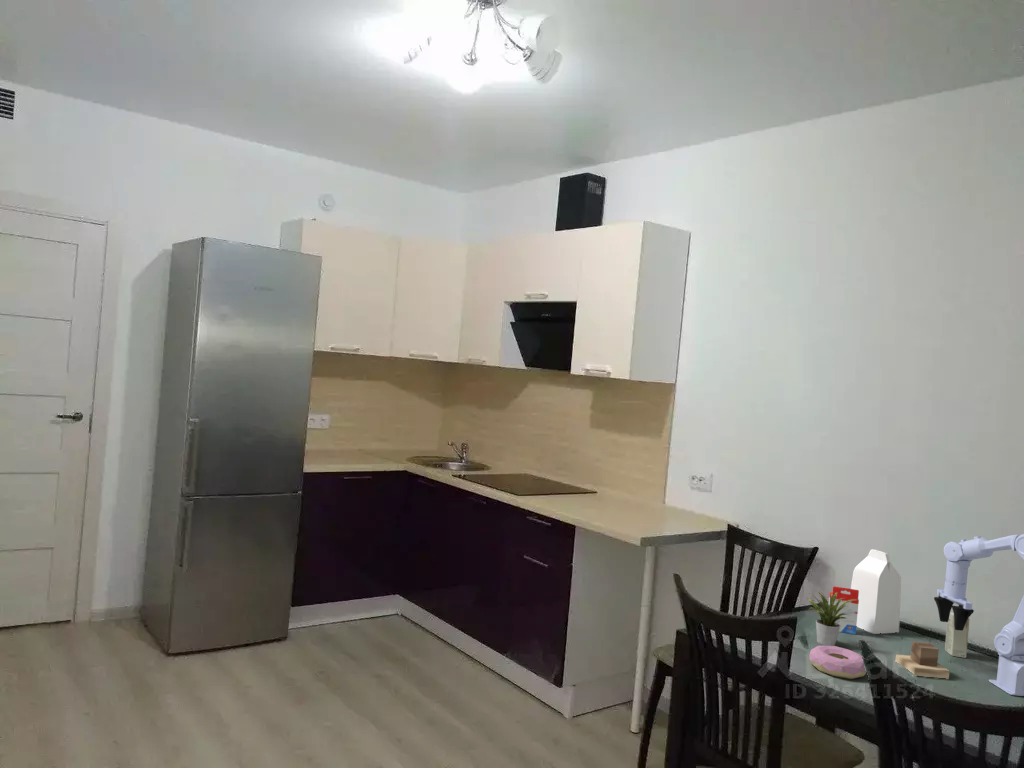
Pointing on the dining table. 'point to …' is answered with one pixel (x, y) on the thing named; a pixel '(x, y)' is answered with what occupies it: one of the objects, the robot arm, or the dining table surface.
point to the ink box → (847, 609)
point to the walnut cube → (924, 653)
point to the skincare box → (956, 638)
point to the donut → (837, 661)
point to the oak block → (922, 667)
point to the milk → (877, 593)
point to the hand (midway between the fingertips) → (951, 625)
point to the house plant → (828, 619)
